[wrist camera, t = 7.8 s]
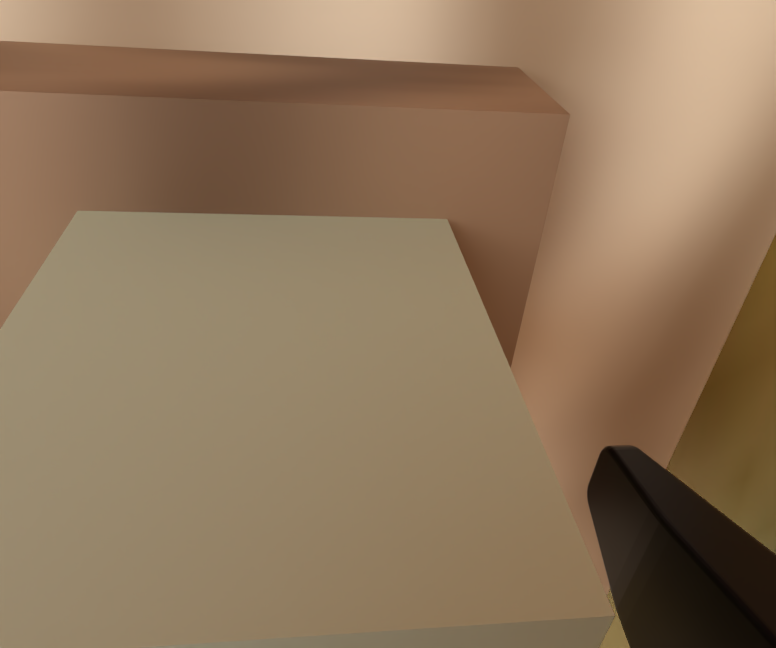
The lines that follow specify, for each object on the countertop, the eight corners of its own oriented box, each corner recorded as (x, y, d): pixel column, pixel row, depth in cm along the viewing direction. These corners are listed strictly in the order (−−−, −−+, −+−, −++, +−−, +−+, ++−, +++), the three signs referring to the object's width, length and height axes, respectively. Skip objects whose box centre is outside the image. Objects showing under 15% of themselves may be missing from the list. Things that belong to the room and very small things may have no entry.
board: (925, -203, 10) (982, -209, 9) (577, 607, 22) (588, 635, 22) (-64, -323, 8) (-106, -345, 7) (162, 635, 20) (156, 666, 20)
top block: (447, 219, 9) (615, 615, 4) (412, 462, 12) (489, 865, 7) (77, 210, 8) (-225, 672, 4) (133, 471, 11) (8, 922, 6)
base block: (517, 67, 10) (570, 115, 8) (453, 422, 15) (477, 508, 13) (-6, 39, 9) (-90, 87, 7) (95, 432, 14) (61, 527, 12)
